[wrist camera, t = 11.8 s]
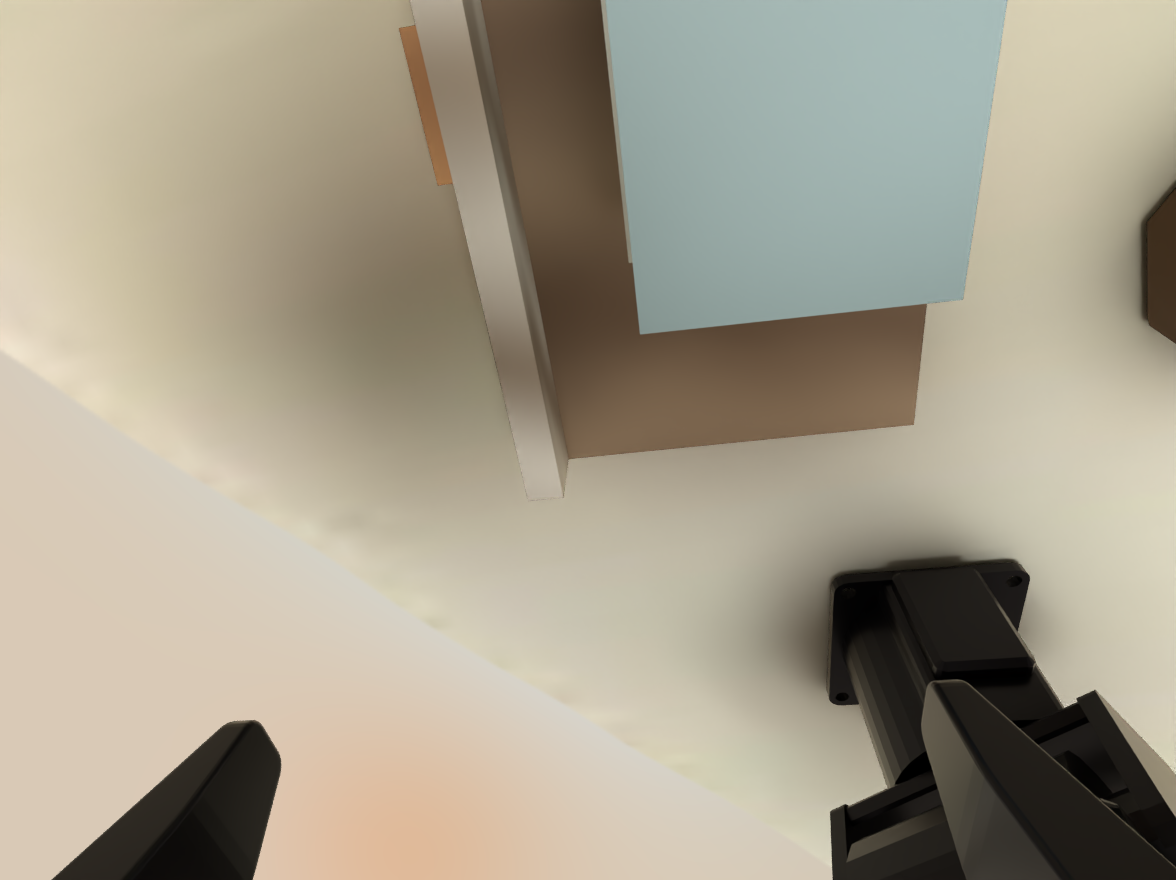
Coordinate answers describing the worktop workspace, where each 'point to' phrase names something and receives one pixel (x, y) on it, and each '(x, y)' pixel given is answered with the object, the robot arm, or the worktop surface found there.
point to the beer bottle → (1162, 268)
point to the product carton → (798, 152)
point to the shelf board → (610, 264)
